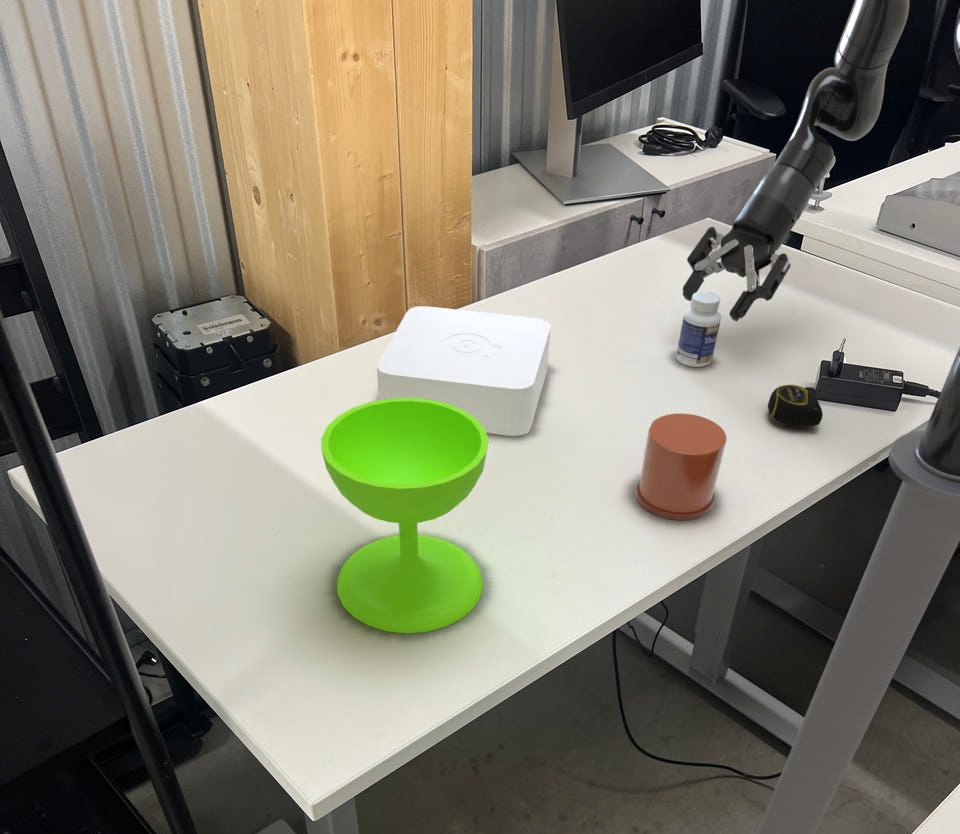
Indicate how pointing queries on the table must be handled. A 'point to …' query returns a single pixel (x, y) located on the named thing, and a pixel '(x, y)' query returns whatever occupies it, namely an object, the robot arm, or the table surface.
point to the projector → (469, 364)
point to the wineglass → (407, 509)
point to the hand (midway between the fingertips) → (709, 307)
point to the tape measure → (795, 406)
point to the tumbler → (680, 466)
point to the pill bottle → (699, 330)
